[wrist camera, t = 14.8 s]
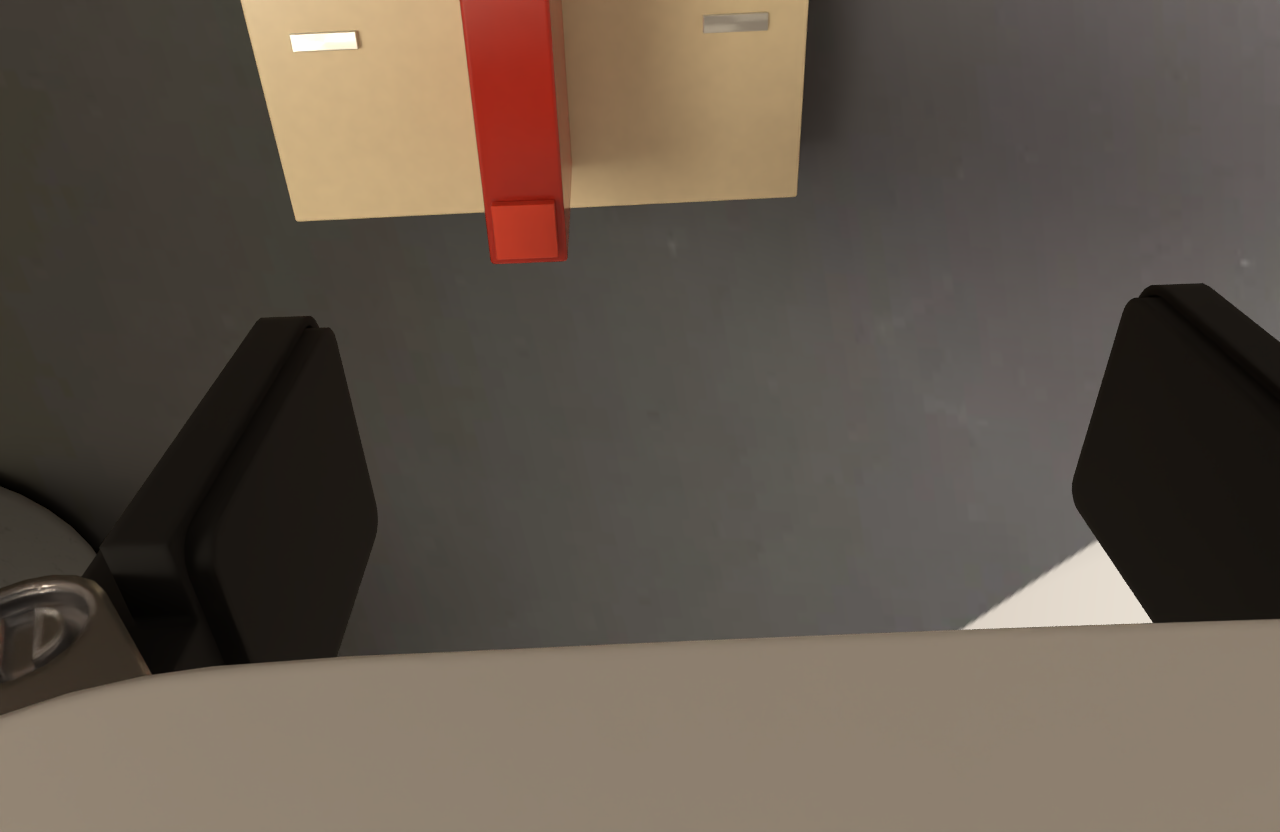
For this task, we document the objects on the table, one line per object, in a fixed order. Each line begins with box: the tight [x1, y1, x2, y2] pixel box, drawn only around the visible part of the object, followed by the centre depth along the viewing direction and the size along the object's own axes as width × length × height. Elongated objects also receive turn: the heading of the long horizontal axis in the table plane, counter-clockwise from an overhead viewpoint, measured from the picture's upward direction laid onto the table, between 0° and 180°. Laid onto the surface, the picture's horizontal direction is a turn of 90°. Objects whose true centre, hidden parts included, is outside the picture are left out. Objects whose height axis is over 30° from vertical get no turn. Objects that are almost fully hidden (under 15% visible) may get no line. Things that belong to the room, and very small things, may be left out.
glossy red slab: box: [459, 0, 572, 264], centre depth 17 cm, size 6×1×6 cm, turn 1°
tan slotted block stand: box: [241, 0, 809, 221], centre depth 21 cm, size 12×10×4 cm
